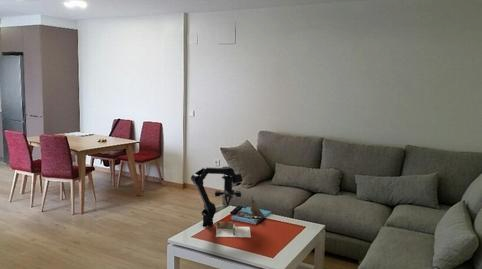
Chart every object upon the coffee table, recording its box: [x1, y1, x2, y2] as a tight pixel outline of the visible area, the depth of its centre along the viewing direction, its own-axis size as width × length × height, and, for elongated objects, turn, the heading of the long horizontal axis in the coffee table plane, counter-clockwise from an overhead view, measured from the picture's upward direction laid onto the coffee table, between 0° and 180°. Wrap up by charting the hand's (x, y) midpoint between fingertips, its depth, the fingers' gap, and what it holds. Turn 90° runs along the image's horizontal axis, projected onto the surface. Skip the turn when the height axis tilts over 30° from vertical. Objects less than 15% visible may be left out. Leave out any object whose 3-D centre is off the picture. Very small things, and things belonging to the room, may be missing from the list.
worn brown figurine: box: [249, 196, 265, 219], centre depth 289 cm, size 12×6×18 cm, turn 86°
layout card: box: [215, 226, 252, 238], centre depth 262 cm, size 23×17×1 cm
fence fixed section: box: [216, 221, 236, 229], centre depth 266 cm, size 12×1×5 cm, turn 92°
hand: (227, 205), depth 280 cm, fingers closed
